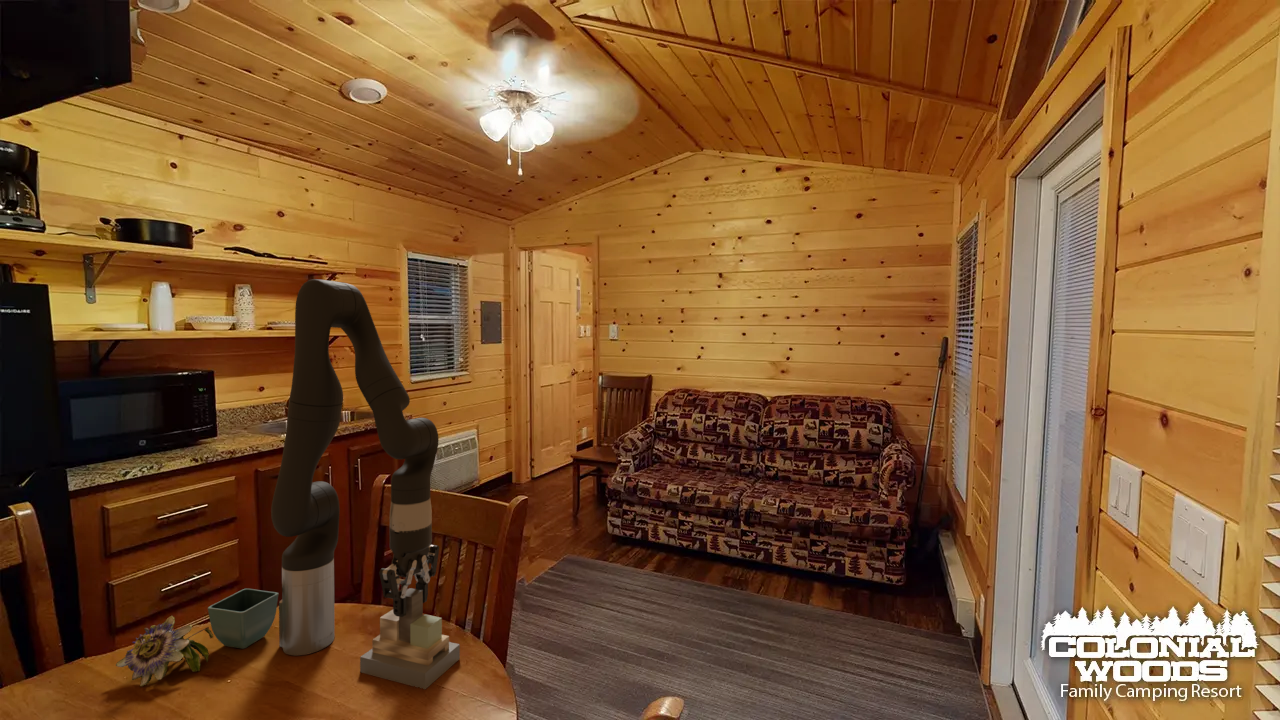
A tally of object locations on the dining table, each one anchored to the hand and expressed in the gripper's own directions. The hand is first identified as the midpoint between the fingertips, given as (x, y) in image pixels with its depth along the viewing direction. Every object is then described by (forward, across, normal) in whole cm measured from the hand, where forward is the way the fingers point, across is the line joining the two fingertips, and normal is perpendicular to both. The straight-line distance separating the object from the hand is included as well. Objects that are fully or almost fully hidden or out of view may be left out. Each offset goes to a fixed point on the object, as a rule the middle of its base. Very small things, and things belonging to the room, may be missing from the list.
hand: (411, 608), depth 106 cm
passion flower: (+12, +17, -42) cm, 46 cm away
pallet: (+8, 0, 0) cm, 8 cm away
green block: (+6, 0, +4) cm, 7 cm away
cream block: (+6, 0, -4) cm, 7 cm away
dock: (+11, 0, 0) cm, 11 cm away
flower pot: (+12, +5, -38) cm, 40 cm away
